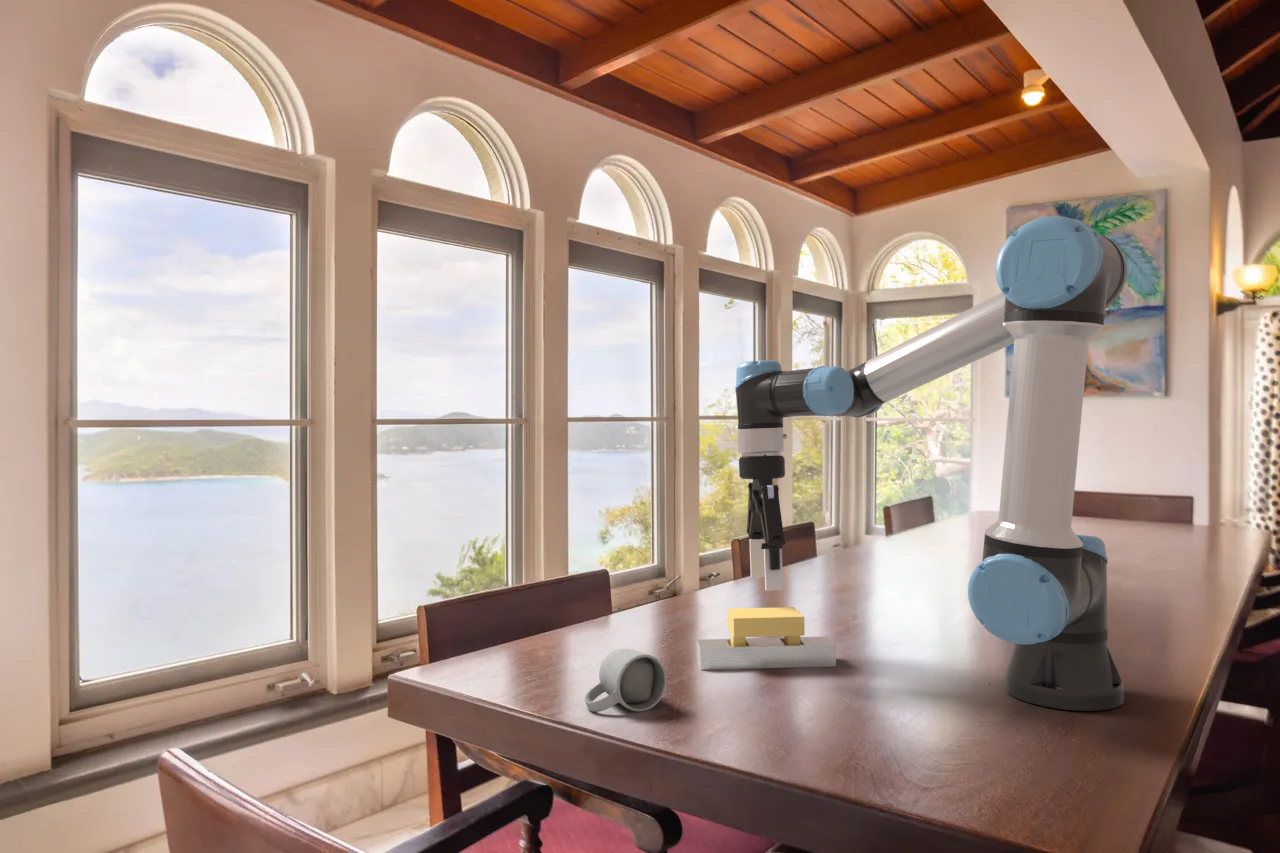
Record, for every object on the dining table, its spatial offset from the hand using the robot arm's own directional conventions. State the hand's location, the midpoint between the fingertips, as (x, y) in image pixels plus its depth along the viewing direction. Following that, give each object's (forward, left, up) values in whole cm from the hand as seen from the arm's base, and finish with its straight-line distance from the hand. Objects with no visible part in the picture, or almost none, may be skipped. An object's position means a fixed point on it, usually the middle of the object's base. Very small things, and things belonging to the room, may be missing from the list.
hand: (766, 583), depth 137 cm
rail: (0, 0, -13) cm, 13 cm away
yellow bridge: (0, 0, -12) cm, 12 cm away
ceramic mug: (-19, +24, -14) cm, 33 cm away
